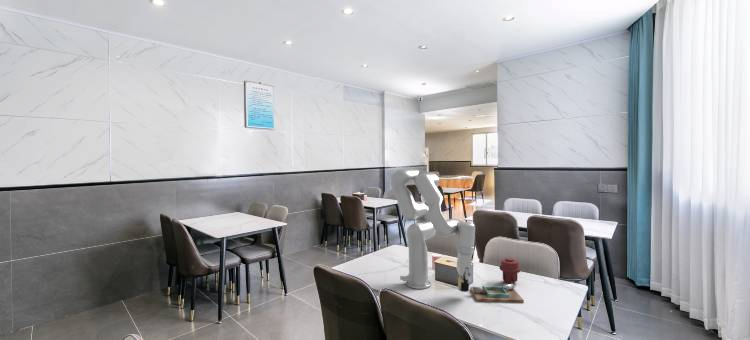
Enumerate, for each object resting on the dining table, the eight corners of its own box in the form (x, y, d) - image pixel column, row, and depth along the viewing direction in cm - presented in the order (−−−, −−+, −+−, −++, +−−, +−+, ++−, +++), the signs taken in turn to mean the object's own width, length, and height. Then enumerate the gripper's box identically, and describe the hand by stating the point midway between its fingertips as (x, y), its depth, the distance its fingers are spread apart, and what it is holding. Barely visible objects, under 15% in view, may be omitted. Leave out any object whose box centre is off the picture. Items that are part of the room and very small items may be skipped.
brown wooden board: (477, 301, 143) (477, 292, 143) (470, 289, 157) (470, 280, 157) (523, 302, 141) (523, 292, 141) (512, 290, 155) (512, 281, 155)
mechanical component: (518, 279, 169) (522, 287, 159) (498, 278, 171) (501, 285, 161) (518, 256, 168) (522, 262, 159) (497, 255, 170) (501, 261, 161)
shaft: (507, 293, 150) (507, 285, 150) (501, 290, 153) (501, 283, 153) (515, 291, 152) (515, 283, 152) (509, 288, 155) (509, 281, 155)
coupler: (458, 291, 145) (459, 277, 144) (457, 286, 150) (457, 273, 149) (469, 292, 144) (470, 278, 144) (467, 287, 149) (468, 274, 149)
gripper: (453, 243, 155) (452, 280, 156) (460, 254, 138) (458, 296, 139) (469, 244, 154) (467, 281, 155) (478, 255, 137) (475, 297, 138)
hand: (463, 287), depth 147 cm, fingers closed on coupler, 4 cm apart
